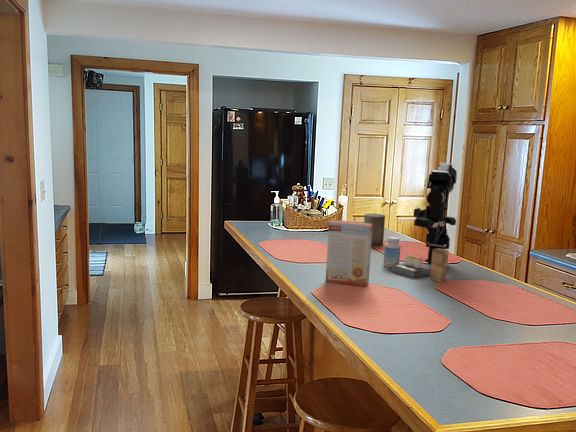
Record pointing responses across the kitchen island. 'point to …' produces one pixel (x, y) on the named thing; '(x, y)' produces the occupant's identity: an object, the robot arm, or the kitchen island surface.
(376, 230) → the pillar candle
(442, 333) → the kitchen island surface
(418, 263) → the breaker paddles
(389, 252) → the pill bottle
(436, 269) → the oak post
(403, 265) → the breaker panel
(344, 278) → the cracker box
